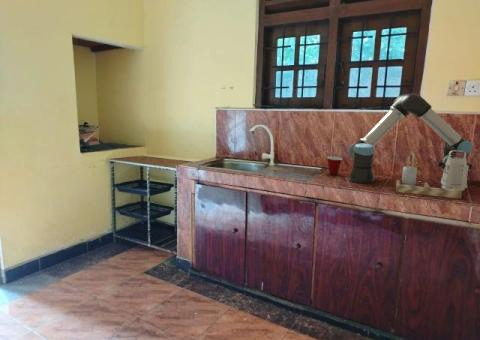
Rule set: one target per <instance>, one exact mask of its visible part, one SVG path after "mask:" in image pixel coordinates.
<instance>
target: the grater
mask: <svg viewBox="0 0 480 340" xmlns="http://www.w3.org/2000/svg"><path fill="white" fill-rule="evenodd" d="M453 151H454V150H451V151H450V152H449V157H448V158H447V161H446V163H447V164H448V169H445V168H443V172H442V177H441V179H440V180H441V181H440V184H441V185H444V186H447V187H454V185H457V186H458V187H460V188H465V189H467V188H468V182H467V181H468V173H467V172H468V171H466V167H467V163H468V162H467V161H468V160H467V159H466V158H467V153H466V152H464V151H462V152H464V153H463V157H456V158H455V157H450V156H451V152H453ZM463 165H464V166H463Z"/></svg>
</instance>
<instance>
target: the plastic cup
mask: <svg viewBox="0 0 480 340" xmlns="http://www.w3.org/2000/svg"><path fill="white" fill-rule="evenodd" d="M326 159H327V166H328V167H327V168H328V174H329V173H330V174H329V175H333V174H336V175H338V174H339V170H340V168H341V163H342V160H343V158H342V157H339V156H330V155H329V156H327V157H326Z"/></svg>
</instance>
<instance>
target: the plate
mask: <svg viewBox="0 0 480 340" xmlns="http://www.w3.org/2000/svg"><path fill="white" fill-rule="evenodd" d="M453 188H454V187H447V186H444V185H443V184H441V189H451V190H453ZM459 188H460V187H459ZM460 189H461V191H462V192H463V191H465V189H466V188H460Z"/></svg>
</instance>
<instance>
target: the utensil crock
mask: <svg viewBox="0 0 480 340" xmlns="http://www.w3.org/2000/svg"><path fill="white" fill-rule="evenodd" d="M415 157H416V154H415V153H414V154H413V155H412V160H410V158H411V157H410V155H408V156H407V162H406V166H403V167H402V175H401V184H400V185H410V186H416V183H417V176H418V175H417V174H418V167H416V166H415ZM410 161H412V162H411V166H410Z"/></svg>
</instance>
